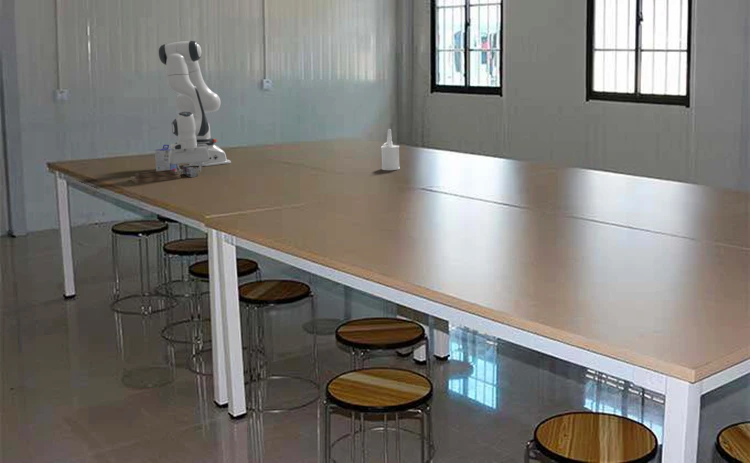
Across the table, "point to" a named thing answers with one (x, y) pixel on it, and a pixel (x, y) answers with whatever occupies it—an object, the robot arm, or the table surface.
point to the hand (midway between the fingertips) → (190, 171)
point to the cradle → (155, 176)
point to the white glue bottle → (390, 154)
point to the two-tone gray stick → (189, 171)
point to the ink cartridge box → (163, 160)
